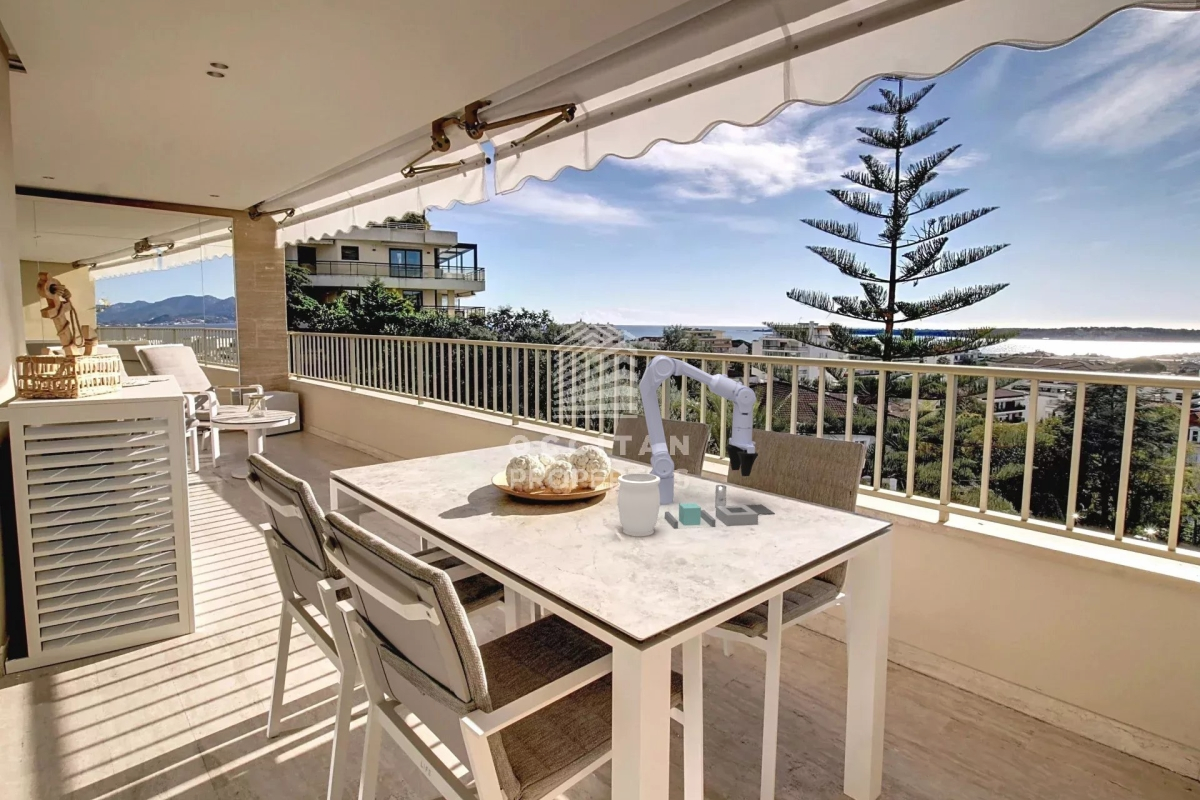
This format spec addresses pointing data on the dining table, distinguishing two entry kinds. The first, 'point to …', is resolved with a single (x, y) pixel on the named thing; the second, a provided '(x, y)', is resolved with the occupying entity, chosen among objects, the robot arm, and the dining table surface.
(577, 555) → the dining table surface
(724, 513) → the grey blocks
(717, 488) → the rod
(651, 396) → the robot arm
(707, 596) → the dining table surface
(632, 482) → the jar
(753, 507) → the pad
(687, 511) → the block
